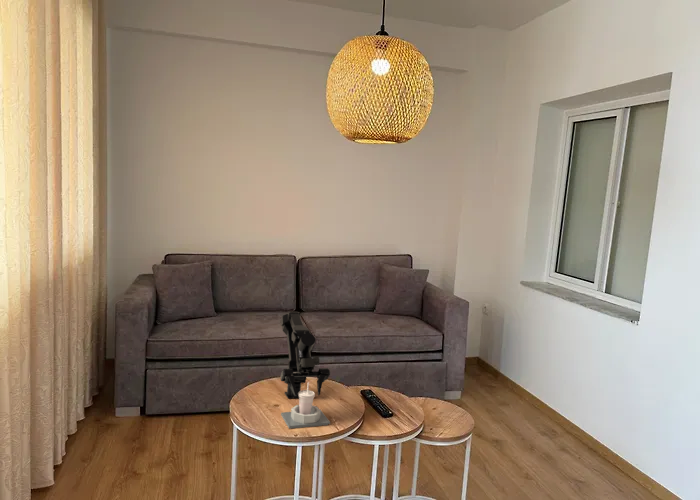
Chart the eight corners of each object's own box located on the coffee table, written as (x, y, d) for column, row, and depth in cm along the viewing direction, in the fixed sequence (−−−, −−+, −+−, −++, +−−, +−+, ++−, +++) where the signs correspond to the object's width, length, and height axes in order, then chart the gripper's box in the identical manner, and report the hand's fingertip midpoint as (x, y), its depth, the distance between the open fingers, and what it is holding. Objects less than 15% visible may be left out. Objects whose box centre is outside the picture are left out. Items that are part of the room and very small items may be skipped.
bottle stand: (281, 415, 200) (281, 405, 200) (320, 411, 206) (320, 402, 206) (289, 428, 189) (289, 418, 188) (330, 424, 195) (330, 414, 195)
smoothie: (303, 422, 193) (305, 386, 191) (293, 416, 198) (295, 380, 196) (316, 418, 197) (319, 383, 196) (306, 412, 202) (309, 377, 200)
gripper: (283, 348, 196) (286, 387, 187) (331, 348, 202) (336, 385, 193) (279, 361, 205) (281, 399, 195) (324, 361, 210) (329, 397, 201)
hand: (307, 395), depth 196 cm, fingers open, 9 cm apart
